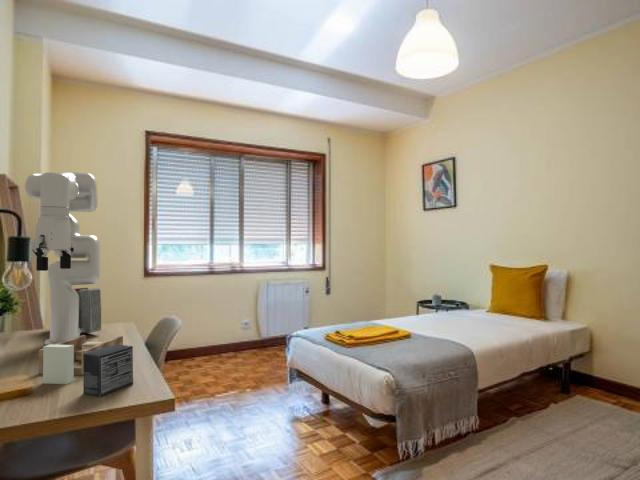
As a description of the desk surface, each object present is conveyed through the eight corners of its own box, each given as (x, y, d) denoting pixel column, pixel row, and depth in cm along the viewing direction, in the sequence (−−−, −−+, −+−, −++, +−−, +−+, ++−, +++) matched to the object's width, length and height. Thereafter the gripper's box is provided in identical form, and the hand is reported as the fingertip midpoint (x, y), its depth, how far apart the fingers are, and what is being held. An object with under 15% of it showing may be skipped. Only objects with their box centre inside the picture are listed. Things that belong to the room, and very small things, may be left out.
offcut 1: (83, 357, 137) (83, 348, 137) (97, 357, 137) (97, 348, 137) (75, 360, 133) (76, 351, 133) (89, 361, 133) (89, 352, 133)
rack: (82, 355, 138) (82, 335, 138) (122, 356, 137) (123, 336, 137) (38, 373, 119) (38, 349, 119) (85, 375, 118) (85, 351, 118)
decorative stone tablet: (102, 286, 172) (64, 288, 187) (87, 288, 166) (49, 290, 181) (104, 332, 170) (66, 331, 185) (89, 335, 165) (50, 333, 180)
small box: (116, 381, 113) (117, 343, 113) (134, 384, 110) (134, 345, 110) (81, 394, 103) (82, 352, 103) (99, 397, 101) (100, 355, 101)
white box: (49, 380, 113) (50, 344, 113) (73, 380, 113) (73, 344, 113) (42, 383, 111) (43, 346, 111) (67, 384, 110) (67, 347, 110)
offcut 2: (87, 349, 136) (87, 342, 136) (108, 349, 136) (108, 341, 136) (81, 352, 132) (81, 344, 132) (103, 351, 133) (103, 344, 133)
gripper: (63, 215, 133) (62, 267, 133) (20, 211, 116) (19, 271, 116) (84, 215, 133) (84, 268, 132) (45, 211, 115) (44, 271, 115)
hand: (54, 269), depth 124 cm, fingers open, 9 cm apart
